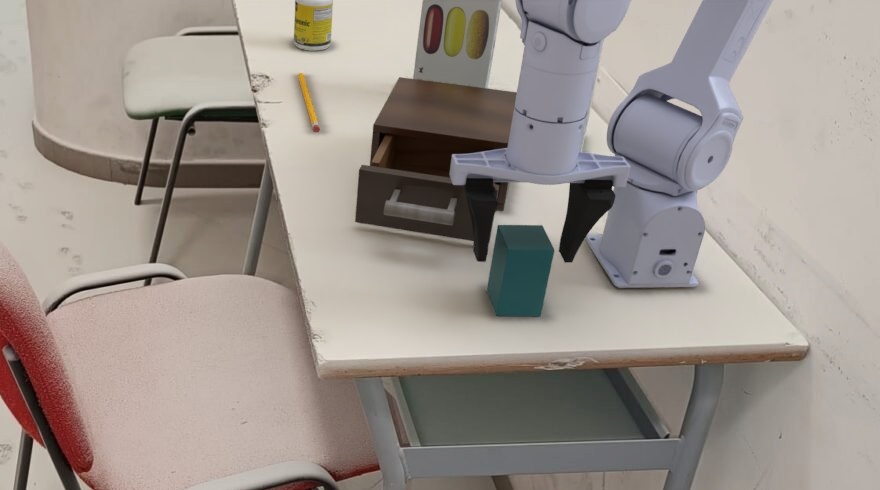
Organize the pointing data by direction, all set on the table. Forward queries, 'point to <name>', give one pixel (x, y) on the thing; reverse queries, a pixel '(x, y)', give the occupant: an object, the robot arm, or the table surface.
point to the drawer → (415, 188)
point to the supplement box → (457, 41)
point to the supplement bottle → (313, 24)
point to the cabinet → (447, 116)
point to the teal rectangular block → (519, 270)
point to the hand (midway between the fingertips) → (522, 256)
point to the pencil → (308, 103)
